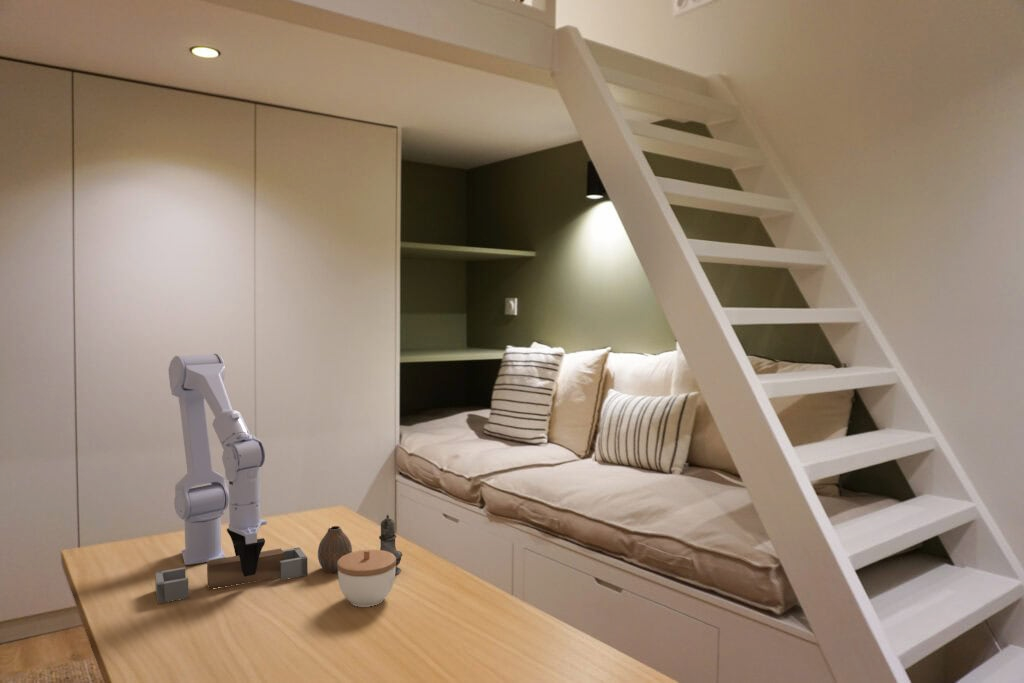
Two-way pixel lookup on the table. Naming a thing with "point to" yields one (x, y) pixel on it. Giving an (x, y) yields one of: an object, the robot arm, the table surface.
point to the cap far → (293, 564)
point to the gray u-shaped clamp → (171, 585)
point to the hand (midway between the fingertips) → (246, 568)
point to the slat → (231, 570)
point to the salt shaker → (390, 540)
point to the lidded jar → (366, 576)
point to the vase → (333, 548)
